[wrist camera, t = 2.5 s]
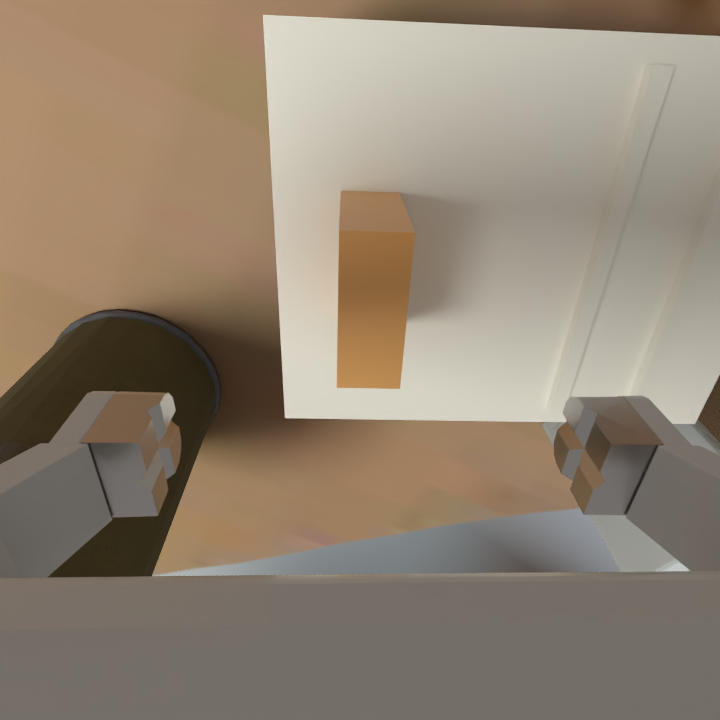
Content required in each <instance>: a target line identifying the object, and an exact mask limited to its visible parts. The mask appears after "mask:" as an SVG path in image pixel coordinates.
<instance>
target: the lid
mask: <svg viewBox="0 0 720 720" xmlns="http://www.w3.org/2000/svg"><path fill="white" fill-rule="evenodd" d="M263 23H264V42H265V60H266V78H267V97H268V115H269V134H270V152H271V171H272V189H273V208H274V226H275V245H276V263H277V282H278V300H279V318H280V337H281V355H282V374H283V392H284V411H285V418H309V419H377V420H446V421H514V422H567V420H566V418H565V416H564V415H563V410H564V407H565V404H566V402H567V400H568V399H569V398H570V397H617V396H640V395H642V396H644V397H646V398H649V399H650V400H651V401H652V402H653V404H654V405H655V406H656V407H657V408H658V409H659V410H660V411H661V412H662V413H663V414H664V415H665V416H666V418H667V419H668V420H669V421H670V422H671V423H672V424H695V423H696V421H697V419H698V417H699V415H700V413H701V411H702V409H703V407H704V405H705V403H706V401H707V399H708V397H709V395H710V393H711V391H712V389H713V387H714V385H715V383H716V381H717V379H718V377H719V375H720V36H706V35H685V34H663V33H642V32H620V31H599V30H577V29H555V28H534V27H512V26H491V25H469V24H448V23H426V22H405V21H383V20H361V19H340V18H318V17H297V16H275V15H263Z"/></svg>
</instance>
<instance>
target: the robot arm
mask: <svg viewBox="0 0 720 720" xmlns="http://www.w3.org/2000/svg"><path fill="white" fill-rule="evenodd" d="M175 410H176V409H175V405H174V401H173V397H172V396H171V395H170V394H169V393H158V392H123V391H119V392H116V391H92V392H90V393H87V394H86V395H85V397H84V398H83V399H82V401H81V402H80V403H79V404H78V406H77V407H76V408H75V410H74V411H73V412H72V414H71V415H70V416H69V417H68V419H67V420H66V421H65V423H64V424H63V425H62V427H61V428H60V429H59V431H58V432H57V433H56V434H55V436H54V437H53V438H52V440H51V441H50V442H49V443H40V444H38V445H36V446H34V447H32V448H31V449H29V450H27V451H25V452H23V453H21V454H19V455H17V456H15V457H13V458H11V459H9V460H8V461H6V462H4V463H2V464H0V720H720V455H718V454H716V453H714V452H712V451H710V450H708V449H706V448H704V447H702V446H692V445H691V443H690V442H689V441H688V440H687V439H686V438H685V437H684V436H683V435H682V434H681V433H680V432H679V431H678V429H677V428H676V427H675V426H674V425H673V424H672V423H671V422H670V421H669V420H668V419H667V418H666V416H665V415H664V414H663V413H662V412H661V411H660V410H659V409H658V408H657V407H656V406H655V405H654V404H653V402H652V401H651V400H650V399H649V398H646V397H644V396H642V395H640V396H617V397H570V398H569V399H568V400H567V402H566V404H565V407H564V410H563V415H564V416H565V418H566V420H567V422H565V423H564V424H563V425H562V426H561V427H560V428H558V429H557V432H556V436H555V440H554V456H555V460H556V463H557V466H558V468H559V470H560V472H561V473H562V474H563V475H565V476H566V477H567V478H569V479H570V480H572V481H573V482H572V485H571V488H570V490H571V492H572V494H573V496H574V498H575V499H576V501H577V503H578V505H579V507H580V509H581V510H582V512H583V514H586V515H625V516H626V518H627V519H628V520H629V521H630V522H632V523H633V524H634V525H635V526H636V527H638V528H639V529H640V530H641V531H643V532H644V533H645V534H646V535H647V536H649V537H650V538H651V539H652V540H654V541H655V542H656V543H657V544H658V545H660V546H661V547H662V548H663V549H664V550H666V551H667V552H668V553H669V554H671V555H672V556H673V557H674V558H675V559H677V560H678V561H679V562H680V563H682V564H683V565H684V566H685V567H686V568H688V569H689V570H690V571H657V572H560V573H558V572H555V573H554V572H551V573H440V574H439V573H438V574H437V573H435V574H348V575H347V574H344V575H343V574H340V575H244V576H140V577H48V576H49V575H50V574H51V573H53V572H54V571H55V570H56V569H57V568H58V567H59V566H60V565H62V564H63V563H64V562H65V561H66V560H67V559H68V558H70V557H71V556H72V555H73V554H74V553H75V552H76V551H77V550H79V549H80V548H81V547H82V546H83V545H84V544H85V543H87V542H88V541H89V540H90V539H91V538H92V537H93V536H94V535H96V534H97V533H98V532H99V531H100V530H101V529H102V528H104V527H105V526H106V525H107V524H108V523H109V522H110V521H111V520H112V517H144V516H158V515H159V512H160V510H161V507H162V505H163V502H164V500H165V497H166V495H167V492H168V485H167V479H168V478H169V477H171V476H172V475H173V474H175V472H176V470H177V467H178V464H179V460H180V454H181V435H180V430H179V427H178V426H177V425H176V424H175V423H174V422H173V421H171V419H172V417H173V415H174V413H175Z"/></svg>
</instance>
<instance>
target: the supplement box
mask: <svg viewBox="0 0 720 720" xmlns="http://www.w3.org/2000/svg"><path fill="white" fill-rule="evenodd" d="M564 423H565V422H543V423H542V426H543V428H544V430H545V432H546V434H547V436H548V438H549V440H550V441H551V443H552V445H553V447H554V440H555V436H556V432H557V429H558V428H560V427H561V426H562V425H563V424H564ZM673 425H674V426H675V427H676V428H677V429H678V431H679V432H680V433H681V434H682V435H683V436H684V437H685V438H686V439H687V440H688V441H689V442H690V443H691V445H692V446H702V447H704V448H706V449H708V450H710V451H712V452H714V453H716V454H718V455H720V442H719V441H718V440H717V439H716V438H715V437H714V436H713V435H712V434H711V433H710V432H709V431H708V429H707V428H706V427H705V426H704V425H703V424H702V423H701V422H700V421H699V420H698V419H697V421H696V423H695V424H673ZM572 482H573V481H572ZM591 517H592V519H593V521H594V522H595V524H596V526H597V528H598V530H599V532H600V534H601V535H602V537H603V539H604V541H605V543H606V545H607V546H608V548H609V550H610V552H611V554H612V556H613V558H614V559H615V561H616V563H617V565H618V567H619V569H620V571H621V572H657V571H690V570H689V569H688V568H686V567H685V566H684V565H683V564H682V563H680V562H679V561H678V560H677V559H675V558H674V557H673V556H672V555H671V554H669V553H668V552H667V551H666V550H664V549H663V548H662V547H661V546H660V545H658V544H657V543H656V542H655V541H654V540H652V539H651V538H650V537H649V536H647V535H646V534H645V533H644V532H643V531H641V530H640V529H639V528H638V527H636V526H635V525H634V524H633V523H632V522H630V521H629V520H628V519H627V518H626V516H625V515H591Z"/></svg>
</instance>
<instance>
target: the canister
mask: <svg viewBox="0 0 720 720" xmlns="http://www.w3.org/2000/svg"><path fill="white" fill-rule="evenodd" d="M92 391H116V392H119V391H123V392H158V393H169V394H170V395H171V396H172V397H173V401H174V405H175V409H176V410H175V413H174V415H173V417H172V419H171V421H173V422H174V423H175V424H176V425H177V426H178V427H179V430H180V435H181V454H180V460H179V464H178V467H177V470H176V472H175V474H173V475H172V476H171V477H169V478H168V479H167V485H168V492H167V495H166V497H165V500H164V502H163V505H162V507H161V510H160V512H159V515H158V516H144V517H112V520H111V521H110V522H109V523H108V524H107V525H106V526H105V527H104V528H102V529H101V530H100V531H99V532H98V533H97V534H96V535H94V536H93V537H92V538H91V539H90V540H89V541H88V542H87V543H85V544H84V545H83V546H82V547H81V548H80V549H79V550H77V551H76V552H75V553H74V554H73V555H72V556H71V557H70V558H68V559H67V560H66V561H65V562H64V563H63V564H62V565H60V566H59V567H58V568H57V569H56V570H55V571H54V572H53V573H51V574H50V575H49V576H48V577H140V576H152V574H153V571H154V568H155V566H156V563H157V561H158V558H159V555H160V553H161V550H162V547H163V545H164V542H165V539H166V537H167V534H168V531H169V529H170V526H171V523H172V521H173V518H174V515H175V513H176V510H177V507H178V505H179V502H180V499H181V497H182V494H183V492H184V489H185V486H186V484H187V481H188V478H189V476H190V473H191V470H192V468H193V465H194V462H195V460H196V457H197V454H198V452H199V449H200V446H201V444H202V441H203V438H204V436H205V433H206V431H207V428H208V426H209V425H210V423H211V422H212V420H213V419H214V417H215V415H216V412H217V409H218V407H219V403H220V384H219V381H218V377H217V373H216V369H215V367H214V365H213V364H212V362H211V361H210V359H209V358H208V356H207V355H206V353H205V352H204V351H203V350H202V349H201V348H200V347H199V346H198V345H197V344H196V343H195V342H194V341H193V340H192V339H191V338H190V337H189V336H188V335H187V334H186V333H185V332H183V331H182V330H180V329H179V328H177V327H176V326H174V325H172V324H170V323H168V322H166V321H164V320H162V319H160V318H157V317H154V316H150V315H146V314H143V313H138V312H130V311H122V310H112V311H101V312H98V313H94V314H91V315H87V316H85V317H83V318H81V319H79V320H77V321H75V322H73V323H72V324H70V325H69V326H68V327H67V328H66V329H65V330H64V331H63V332H62V333H61V334H60V336H59V337H58V339H57V340H56V342H55V344H54V346H53V347H52V348H51V349H50V350H49V351H48V352H47V353H46V354H45V355H44V356H43V357H42V358H41V359H40V360H38V361H37V362H36V363H35V364H34V365H33V366H32V367H31V368H30V369H29V370H28V371H27V372H26V373H25V374H24V375H23V376H22V377H21V378H20V379H19V380H18V381H17V382H16V383H15V384H14V385H13V386H12V387H11V388H10V389H9V390H8V391H7V392H6V393H5V394H4V395H3V396H2V397H1V398H0V464H2V463H4V462H6V461H8V460H9V459H11V458H13V457H15V456H17V455H19V454H21V453H23V452H25V451H27V450H29V449H31V448H32V447H34V446H36V445H38V444H40V443H49V442H50V441H51V440H52V438H53V437H54V436H55V434H56V433H57V432H58V431H59V429H60V428H61V427H62V425H63V424H64V423H65V421H66V420H67V419H68V417H69V416H70V415H71V414H72V412H73V411H74V410H75V408H76V407H77V406H78V404H79V403H80V402H81V401H82V399H83V398H84V397H85V395H86V394H87V393H90V392H92Z"/></svg>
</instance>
